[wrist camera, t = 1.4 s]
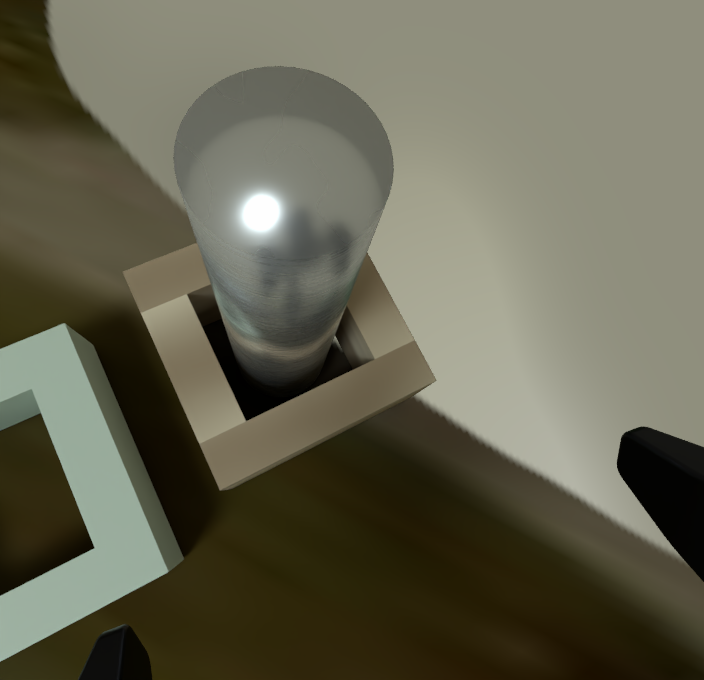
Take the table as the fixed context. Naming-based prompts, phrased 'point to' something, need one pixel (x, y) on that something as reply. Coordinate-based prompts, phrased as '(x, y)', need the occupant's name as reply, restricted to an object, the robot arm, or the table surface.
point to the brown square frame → (296, 414)
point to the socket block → (82, 487)
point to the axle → (282, 212)
